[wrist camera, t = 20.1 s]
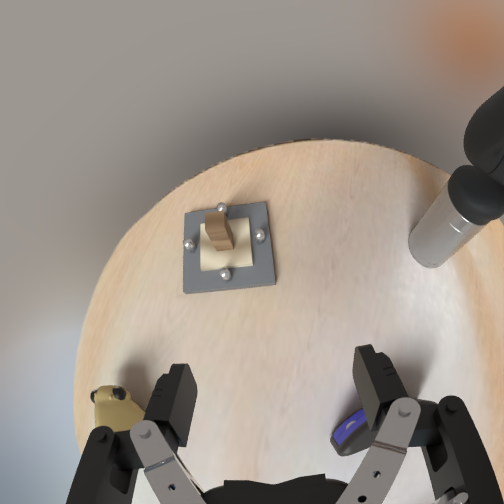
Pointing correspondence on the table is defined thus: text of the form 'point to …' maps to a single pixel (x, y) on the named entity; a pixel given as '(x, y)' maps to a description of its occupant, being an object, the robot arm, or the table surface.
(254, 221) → the base board
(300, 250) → the table surface
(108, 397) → the yellow toy animal
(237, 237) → the handled board
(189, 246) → the standoff pins
